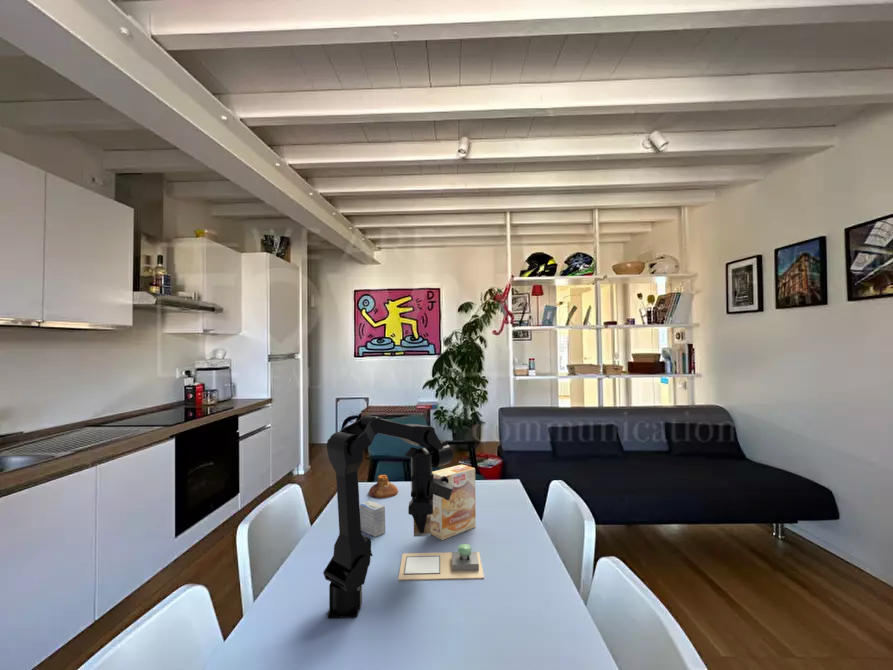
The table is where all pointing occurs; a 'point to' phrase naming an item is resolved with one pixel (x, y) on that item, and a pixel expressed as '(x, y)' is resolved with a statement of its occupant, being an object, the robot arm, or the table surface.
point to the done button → (464, 550)
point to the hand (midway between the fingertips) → (422, 529)
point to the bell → (383, 488)
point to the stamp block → (426, 531)
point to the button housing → (465, 562)
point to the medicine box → (372, 518)
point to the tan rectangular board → (433, 567)
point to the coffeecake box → (454, 503)
